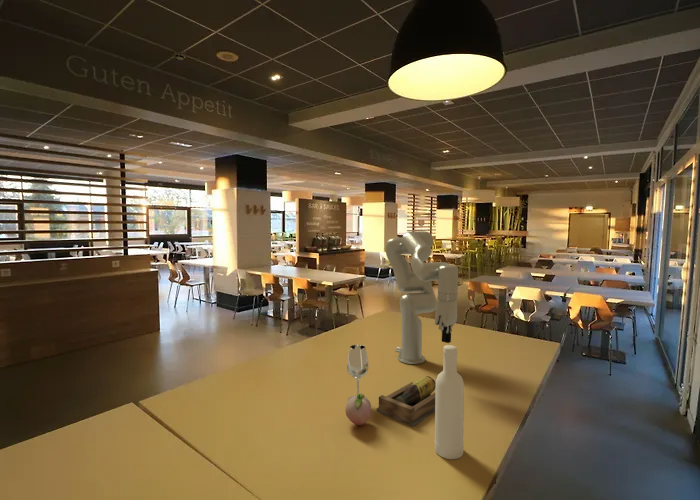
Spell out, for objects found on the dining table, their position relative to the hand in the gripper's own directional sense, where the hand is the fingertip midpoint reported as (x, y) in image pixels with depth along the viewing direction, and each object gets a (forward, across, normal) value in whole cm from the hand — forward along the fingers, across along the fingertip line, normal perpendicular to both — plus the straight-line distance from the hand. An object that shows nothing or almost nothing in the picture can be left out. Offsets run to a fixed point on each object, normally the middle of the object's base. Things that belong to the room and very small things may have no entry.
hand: (446, 341), depth 148 cm
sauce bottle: (+13, +11, 0) cm, 17 cm away
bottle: (+16, +40, +23) cm, 49 cm away
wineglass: (+18, +34, -16) cm, 42 cm away
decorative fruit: (+17, +46, -5) cm, 50 cm away
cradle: (+17, +24, +1) cm, 30 cm away
